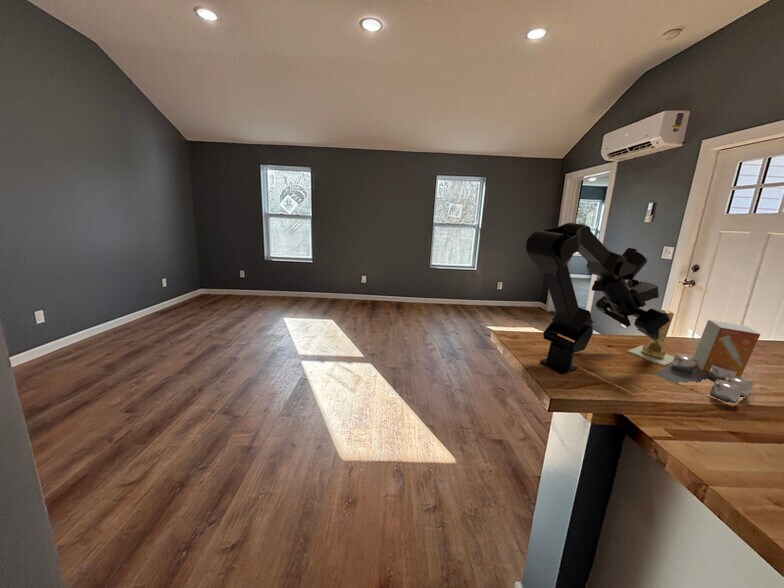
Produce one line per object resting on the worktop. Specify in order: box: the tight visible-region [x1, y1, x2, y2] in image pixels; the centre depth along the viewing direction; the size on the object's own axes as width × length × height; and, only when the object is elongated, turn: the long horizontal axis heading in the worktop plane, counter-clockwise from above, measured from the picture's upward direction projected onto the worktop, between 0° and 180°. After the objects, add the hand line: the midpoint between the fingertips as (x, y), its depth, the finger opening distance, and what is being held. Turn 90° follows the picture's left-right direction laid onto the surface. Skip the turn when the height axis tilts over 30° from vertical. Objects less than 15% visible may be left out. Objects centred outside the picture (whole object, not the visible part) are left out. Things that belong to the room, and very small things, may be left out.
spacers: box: [670, 353, 754, 403], centre depth 79 cm, size 15×15×4 cm
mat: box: [653, 364, 709, 385], centre depth 80 cm, size 15×15×1 cm
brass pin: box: [642, 309, 675, 359], centre depth 90 cm, size 5×5×13 cm
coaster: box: [627, 344, 675, 367], centre depth 92 cm, size 9×9×1 cm
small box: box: [692, 319, 761, 377], centre depth 85 cm, size 8×6×13 cm
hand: (642, 332), depth 89 cm, fingers open, 9 cm apart
